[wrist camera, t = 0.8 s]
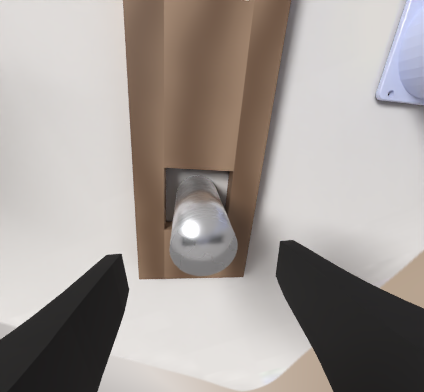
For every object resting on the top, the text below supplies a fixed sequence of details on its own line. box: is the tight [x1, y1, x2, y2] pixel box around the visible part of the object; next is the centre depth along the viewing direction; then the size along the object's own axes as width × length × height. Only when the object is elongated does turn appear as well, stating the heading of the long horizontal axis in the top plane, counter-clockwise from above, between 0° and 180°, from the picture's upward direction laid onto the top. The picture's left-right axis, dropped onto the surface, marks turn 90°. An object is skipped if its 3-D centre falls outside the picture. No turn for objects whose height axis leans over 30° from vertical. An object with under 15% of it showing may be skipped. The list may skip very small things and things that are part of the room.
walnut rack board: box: [123, 0, 291, 279], centre depth 15 cm, size 10×32×2 cm, turn 175°
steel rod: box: [169, 175, 238, 276], centre depth 14 cm, size 4×4×8 cm
